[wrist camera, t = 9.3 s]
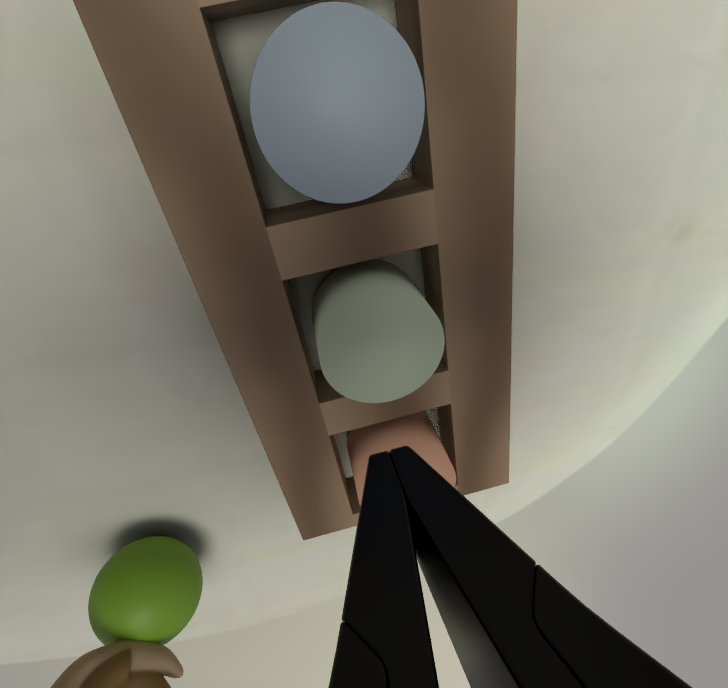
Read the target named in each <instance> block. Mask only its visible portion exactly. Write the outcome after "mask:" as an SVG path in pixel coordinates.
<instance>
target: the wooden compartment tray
mask: <svg viewBox="0 0 728 688" xmlns="http://www.w3.org/2000/svg"><path fill="white" fill-rule="evenodd" d="M312 1H317V0H73V2H74V4H75V6H76V9H77V11H78V13H79V16H80V18H81V20H82V23H83V25H84V27H85V30H86V32H87V34H88V37H89V39H90V42H91V44H92V46H93V49H94V51H95V53H96V56H97V58H98V60H99V63H100V65H101V67H102V70H103V72H104V74H105V77H106V79H107V81H108V84H109V86H110V88H111V91H112V93H113V95H114V98H115V100H116V102H117V105H118V107H119V109H120V112H121V114H122V116H123V119H124V121H125V123H126V126H127V128H128V131H129V133H130V135H131V138H132V140H133V142H134V145H135V147H136V149H137V152H138V154H139V156H140V159H141V161H142V163H143V166H144V168H145V170H146V173H147V175H148V177H149V180H150V182H151V184H152V187H153V189H154V191H155V194H156V196H157V198H158V201H159V203H160V205H161V208H162V210H163V213H164V215H165V217H166V220H167V222H168V224H169V227H170V229H171V231H172V234H173V236H174V238H175V241H176V243H177V245H178V248H179V250H180V252H181V255H182V257H183V259H184V262H185V264H186V266H187V269H188V271H189V273H190V276H191V278H192V280H193V283H194V285H195V287H196V290H197V292H198V295H199V297H200V299H201V302H202V304H203V306H204V309H205V311H206V313H207V316H208V318H209V320H210V323H211V325H212V327H213V330H214V332H215V334H216V337H217V339H218V341H219V344H220V346H221V348H222V351H223V353H224V355H225V358H226V360H227V362H228V365H229V367H230V369H231V372H232V374H233V377H234V379H235V381H236V384H237V386H238V388H239V391H240V393H241V395H242V398H243V400H244V402H245V405H246V407H247V409H248V412H249V414H250V416H251V419H252V421H253V423H254V426H255V428H256V430H257V433H258V435H259V437H260V440H261V442H262V444H263V447H264V449H265V451H266V454H267V456H268V459H269V461H270V463H271V466H272V468H273V470H274V473H275V475H276V477H277V480H278V482H279V484H280V487H281V489H282V491H283V494H284V496H285V498H286V501H287V503H288V505H289V508H290V510H291V512H292V515H293V517H294V519H295V522H296V524H297V526H298V529H299V531H300V533H301V536H302V538H303V540H307V539H310V538H314V537H317V536H321V535H324V534H328V533H332V532H335V531H339V530H342V529H346V528H349V527H353V526H356V525H357V524H358V518H359V513H360V507H361V506H360V504H359V500H358V495H357V490H356V486H355V481H354V477H352V478H348V479H346V478H345V474H344V471H343V467H342V464H341V461H340V457H339V454H338V450H337V447H336V444H335V440H334V437H333V435H335V434H338V433H342V432H346V431H350V430H354V429H357V428H361V427H365V426H369V425H372V424H376V423H380V422H384V421H388V420H391V419H395V418H399V417H403V416H406V415H410V414H414V413H418V412H421V411H425V410H429V409H433V408H437V407H438V416H439V426H440V435H441V443H442V445H443V447H444V449H445V451H446V453H447V455H448V457H449V460H450V462H451V464H452V466H453V468H454V470H455V473H456V484H455V489H457V490H458V491H459V492H460V493H461V494H462V495H467V494H470V493H474V492H478V491H481V490H485V489H488V488H492V487H495V486H499V485H502V484H506V483H509V440H510V383H511V326H512V269H513V212H514V155H515V97H516V40H517V0H395V5H396V15H397V25H398V32H399V33H400V35H401V36H402V37H403V39H404V40H405V42H406V43H407V44H408V46H409V48H410V50H411V52H412V53H413V55H414V57H415V60H416V62H417V65H418V68H419V70H420V74H421V78H422V82H423V89H424V98H425V112H424V122H423V127H422V133H421V136H420V139H419V142H418V145H417V148H416V150H415V152H414V154H413V156H412V168H413V177H412V178H408V179H404V180H399V181H395V182H393V183H391V184H390V185H389V186H388V187H386V188H385V189H384V190H382V191H380V192H379V193H377V194H376V195H373V196H371V197H369V198H367V199H364V200H360V201H357V202H351V203H328V202H323V201H319V200H310V201H306V202H302V203H297V204H293V205H288V206H284V207H279V208H275V209H271V210H266V206H265V203H264V200H263V196H262V193H261V190H260V186H259V183H258V179H257V176H256V173H255V169H254V166H253V162H252V159H251V156H250V152H249V149H248V145H247V142H246V139H245V135H244V132H243V129H242V125H241V122H240V118H239V115H238V112H237V108H236V105H235V101H234V98H233V95H232V91H231V88H230V84H229V81H228V78H227V74H226V71H225V67H224V64H223V61H222V57H221V54H220V51H219V47H218V44H217V40H216V37H215V34H214V30H213V27H212V23H211V21H214V20H219V19H224V18H230V17H235V16H240V15H245V14H250V13H255V12H261V11H266V10H271V9H276V8H281V7H286V6H292V5H297V4H302V3H307V2H312ZM418 248H421V254H422V263H423V273H424V282H425V292H426V301H427V303H428V304H429V306H430V307H431V308H432V310H433V311H434V312H435V314H436V315H437V316H438V318H439V320H440V322H441V324H442V327H443V331H444V337H445V344H444V351H443V355H442V358H441V360H440V363H439V365H438V367H437V368H436V370H435V372H434V373H433V374H432V376H431V377H430V378H429V379H428V380H427V381H426V382H425V383H424V384H423V385H422V386H421V387H419V388H418V389H416V390H415V391H414V392H412V393H410V394H408V395H406V396H404V397H402V398H399V399H396V400H393V401H389V402H383V403H364V402H359V401H355V400H352V399H349V398H347V397H345V396H343V395H341V394H340V393H338V392H337V391H336V390H335V389H334V388H333V387H332V386H331V385H330V384H329V383H328V382H327V380H326V378H325V376H324V375H323V372H322V370H321V371H317V372H314V369H313V366H312V362H311V359H310V356H309V352H308V349H307V345H306V342H305V339H304V335H303V332H302V328H301V325H300V322H299V318H298V315H297V312H296V308H295V305H294V301H293V298H292V295H291V291H290V288H289V284H288V281H287V279H291V278H296V277H300V276H304V275H308V274H313V273H317V272H321V271H325V270H329V269H334V268H338V267H342V266H346V265H350V264H355V263H359V262H363V261H367V260H371V259H376V258H380V257H384V256H388V255H392V254H397V253H401V252H405V251H409V250H413V249H418Z"/></svg>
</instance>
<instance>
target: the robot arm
mask: <svg viewBox="0 0 728 688" xmlns="http://www.w3.org/2000/svg"><path fill="white" fill-rule="evenodd" d="M417 559H418V562H419V565H420V567H421V570H422V572H423V574H424V577H425V579H426V581H427V584H428V586H429V589H430V591H431V593H432V596H433V598H434V600H435V603H436V605H437V608H438V610H439V613H440V615H441V617H442V620H443V622H444V624H445V627H446V629H447V631H448V634H449V636H450V639H451V641H452V643H453V646H454V648H455V650H456V653H457V655H458V658H459V660H460V662H461V665H462V667H463V669H464V672H465V674H466V677H467V679H468V682H469V684H470V686H471V688H692V687H691V686H689V685H688V684H687V683H686V682H684V681H683V680H682V679H680V678H679V677H678V676H676V675H675V674H674V673H672V672H671V671H670V670H668V669H667V668H666V667H664V666H663V665H661V664H660V663H659V662H658V661H656V660H655V659H654V658H652V657H651V656H650V655H648V654H647V653H646V652H644V651H643V650H642V649H641V648H639V647H638V646H637V645H635V644H634V643H632V642H631V641H630V640H629V639H627V638H626V637H625V636H623V635H622V634H621V633H619V632H618V631H617V630H616V629H614V628H613V627H612V626H610V625H609V624H608V623H606V622H605V621H604V620H603V619H602V618H600V617H599V616H598V615H597V614H595V613H594V612H593V611H591V610H590V609H589V608H587V607H586V606H585V605H584V604H583V603H581V601H579V600H578V599H577V598H576V597H575V596H574V595H572V594H571V593H570V592H569V591H568V590H567V589H565V588H564V587H563V586H562V585H561V584H560V583H558V582H557V581H556V580H555V579H554V578H553V577H552V576H551V575H550V574H549V573H548V572H546V571H545V570H544V569H543V568H542V567H541V566H540V565H536V563H535V561H534V560H533V559H532V558H531V557H530V556H529V555H528V554H527V553H525V552H524V551H523V550H522V549H521V548H520V547H519V546H518V545H517V544H516V543H515V542H513V541H512V540H511V539H510V538H509V537H508V536H507V535H506V534H505V533H504V532H502V531H501V530H500V529H499V528H498V527H497V526H496V525H495V524H494V523H493V522H492V521H490V520H489V519H488V518H487V517H486V516H485V515H484V514H483V513H482V512H481V511H480V510H478V509H477V508H476V507H475V506H474V505H473V504H472V503H471V502H470V501H469V500H467V499H466V498H465V497H464V496H463V495H462V494H461V493H460V492H459V491H458V490H457V489H455V488H454V487H453V486H452V485H451V484H450V483H449V482H448V481H447V480H446V479H444V478H443V477H442V476H441V475H440V474H439V473H438V472H437V471H436V470H435V469H434V468H432V467H431V466H430V465H429V464H428V463H427V462H426V461H425V460H424V459H423V458H422V457H420V456H419V455H418V454H417V453H416V452H415V451H414V450H413V449H412V448H410V447H409V446H401V447H398V448H394V449H391V450H390V452H388V451H382V452H379V453H375V454H371V455H370V456H369V459H368V465H367V471H366V477H365V483H364V489H363V495H362V501H361V507H360V513H359V518H358V524H357V530H356V536H355V542H354V548H353V554H352V560H351V566H350V572H349V578H348V584H347V590H346V596H345V602H344V608H343V614H342V621H343V623H341V625H340V630H339V636H338V642H337V648H336V654H335V658H334V663H333V668H332V673H331V679H330V683H329V688H439V685H438V680H437V673H436V667H435V662H434V657H433V650H432V645H431V639H430V633H429V627H428V621H427V615H426V610H425V604H424V598H423V592H422V586H421V581H420V575H419V569H418V563H417ZM535 566H536V567H535Z"/></svg>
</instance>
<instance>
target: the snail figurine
mask: <svg viewBox="0 0 728 688" xmlns="http://www.w3.org/2000/svg"><path fill="white" fill-rule="evenodd" d="M201 592H202V571H201V567H200V564H199V561H198V559H197V557H196V555H195V554H194V553H193V551H192V550H191V549H190V548H189V547H188V546H187V545H185V544H184V543H183V542H181V541H179V540H177V539H174V538H171V537H166V536H152V537H146V538H142V539H139V540H137V541H134V542H132V543H130V544H128V545H126V546H125V547H123V548H122V549H120V550H119V551H118V552H117V553H115V554H114V555H113V556H112V557H111V558H110V559H109V560H108V561H107V562H106V564H105V565H104V566H103V568H102V569H101V570H100V572H99V574H98V575H97V577H96V579H95V581H94V584H93V586H92V589H91V593H90V597H89V605H88V613H89V620H90V624H91V627H92V629H93V631H94V633H95V635H96V636H97V638H98V639H99V640H100V641H101V642H102V643H103V644H104V645H105V646H103V647H100V648H97V649H95V650H92V651H90V652H88V653H86V654H84V655H83V656H81V657H80V658H78V659H77V660H76V661H74V662H73V663H72V664H71V665H70V666H69V667H68V668H67V669H66V670H65V671H64V672H63V673H62V674H61V675H60V677H59V678H58V679H57V680H56V681H55V683H54V684H53V685H52V687H51V688H171V687H170V685H169V684H168V683H167V681H166V680H165V678H164V676H168V677H172V678H180V677H181V676H182V675H183V668H182V666H181V664H180V662H179V660H178V659H177V657H176V656H175V655H174V653H172V651H171V650H170V649H168V648H167V647H165V646H163V645H164V644H166V643H167V642H169V641H170V640H172V639H173V638H174V637H175V636H177V635H178V634H179V633H180V632H181V631H182V630H183V628H184V627H185V626H186V625H187V624H188V622H189V621H190V619H191V618H192V616H193V614H194V612H195V610H196V608H197V606H198V603H199V600H200V597H201Z"/></svg>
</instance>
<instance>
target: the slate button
mask: <svg viewBox="0 0 728 688" xmlns="http://www.w3.org/2000/svg"><path fill="white" fill-rule="evenodd" d="M250 111H251V119H252V124H253V128H254V132H255V135H256V138H257V141H258V144H259V146H260V148H261V150H262V152H263V154H264V156H265V158H266V159H267V161H268V163H269V164H270V166H271V167H272V168H273V169H274V171H275V172H276V173H277V174H278V176H280V177H281V178H282V179H283V180H284V181H285V182H286V183H287V184H288V185H290V186H291V187H292V188H294V189H295V190H296V191H298V192H300V193H302V194H303V195H305V196H308V197H310V198H313V199H315V200H319V201H323V202H328V203H351V202H357V201H360V200H364V199H367V198H369V197H371V196H373V195H376V194H377V193H379V192H380V191H382V190H384V189H385V188H386V187H388V186H389V185H390V184H391V183H393V182H394V181H395V180H396V178H397V177H398V176H399V175H400V174H401V173H402V172H403V170H404V169H405V168H406V166H407V165H408V163H409V161H410V160H411V158H412V156H413V154H414V152H415V150H416V148H417V145H418V142H419V139H420V136H421V133H422V127H423V122H424V112H425V98H424V89H423V82H422V78H421V74H420V70H419V68H418V65H417V62H416V60H415V57H414V55H413V53H412V52H411V50H410V48H409V46H408V44H407V43H406V42H405V40H404V39H403V37H402V36H401V35H400V33H399V32H398V31H397V30H396V29H395V28H394V27H393V26H392V25H391V24H390V23H389V22H387V21H386V20H385V19H384V18H383V17H381V16H380V15H378V14H376V13H375V12H373V11H371V10H369V9H367V8H364V7H362V6H359V5H356V4H351V3H347V2H324V3H318V4H315V5H311V6H308V7H306V8H304V9H302V10H300V11H297V12H296V13H294V14H293V15H291V16H290V17H288V18H287V19H286V20H285V21H284V22H282V23H281V24H280V25H279V26H278V27H277V28H276V29H275V31H274V32H273V33H272V34H271V36H270V37H269V38H268V40H267V41H266V43H265V45H264V47H263V48H262V50H261V52H260V54H259V57H258V59H257V62H256V64H255V68H254V72H253V76H252V81H251V89H250Z"/></svg>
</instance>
